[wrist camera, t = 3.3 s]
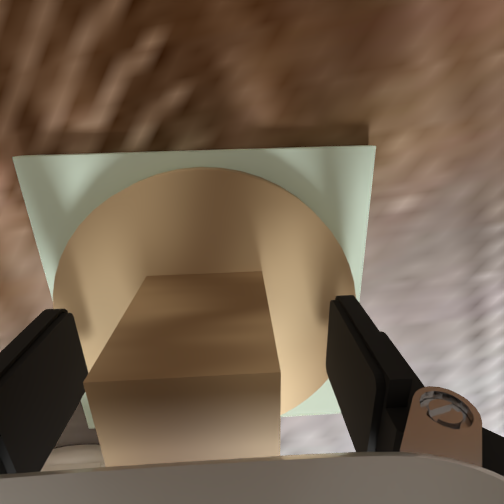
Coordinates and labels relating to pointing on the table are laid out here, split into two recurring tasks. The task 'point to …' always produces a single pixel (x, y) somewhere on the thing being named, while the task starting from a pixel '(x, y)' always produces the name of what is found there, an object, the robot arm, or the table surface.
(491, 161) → the table surface
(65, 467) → the bowl
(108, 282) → the lid
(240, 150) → the mat
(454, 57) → the table surface
